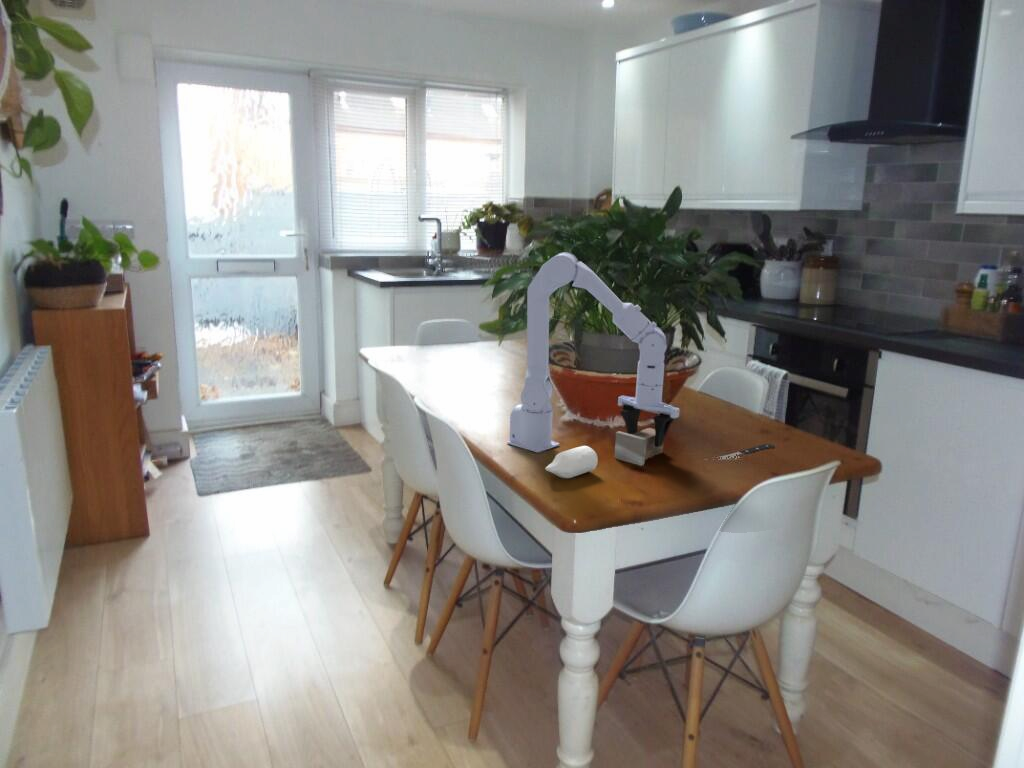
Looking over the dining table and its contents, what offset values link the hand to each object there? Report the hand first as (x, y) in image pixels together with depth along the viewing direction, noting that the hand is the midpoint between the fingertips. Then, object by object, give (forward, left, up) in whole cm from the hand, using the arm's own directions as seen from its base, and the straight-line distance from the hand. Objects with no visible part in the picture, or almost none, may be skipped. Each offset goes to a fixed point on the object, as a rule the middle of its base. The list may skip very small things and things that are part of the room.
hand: (645, 442), depth 167 cm
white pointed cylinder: (-3, -17, 0) cm, 18 cm away
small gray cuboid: (0, 0, -3) cm, 3 cm away
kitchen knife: (+17, +13, -3) cm, 22 cm away
